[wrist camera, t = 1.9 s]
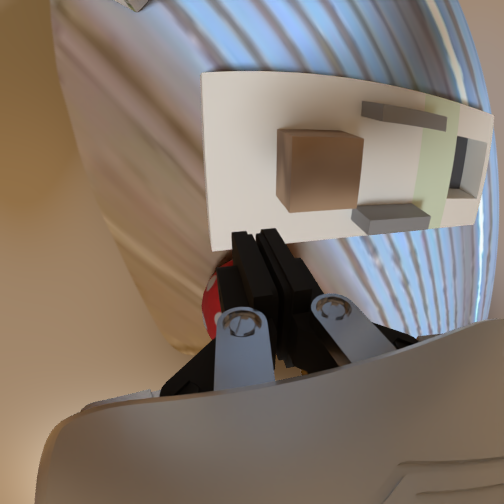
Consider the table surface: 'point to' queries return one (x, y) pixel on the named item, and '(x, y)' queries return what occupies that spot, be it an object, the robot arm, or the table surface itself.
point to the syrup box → (133, 4)
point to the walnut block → (318, 169)
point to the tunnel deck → (373, 162)
